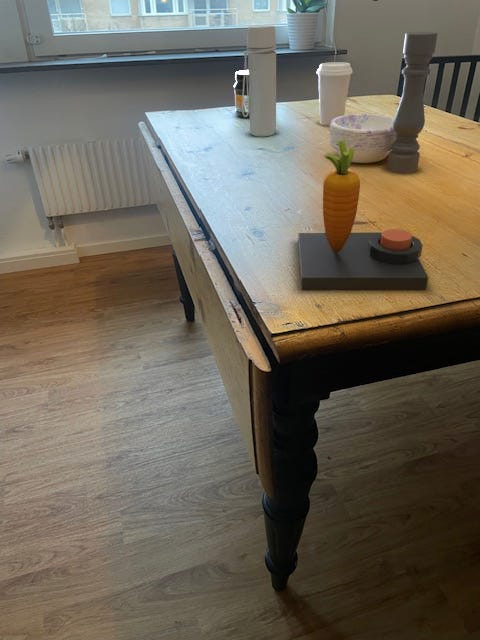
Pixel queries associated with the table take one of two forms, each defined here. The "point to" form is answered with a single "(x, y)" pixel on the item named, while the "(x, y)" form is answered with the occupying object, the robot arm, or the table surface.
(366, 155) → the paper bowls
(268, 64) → the water bottle
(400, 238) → the button
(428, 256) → the table surface
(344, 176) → the carrot
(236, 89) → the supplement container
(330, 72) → the coffee cup
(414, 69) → the candle holder
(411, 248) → the black push button box
